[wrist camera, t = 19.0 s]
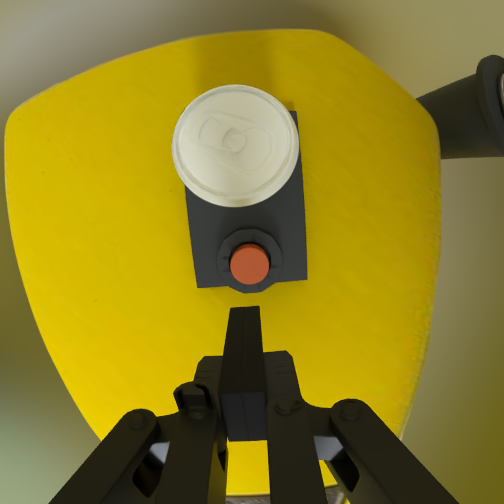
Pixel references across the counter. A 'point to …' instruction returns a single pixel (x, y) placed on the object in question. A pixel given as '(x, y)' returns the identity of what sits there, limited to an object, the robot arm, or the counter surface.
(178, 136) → the beverage can
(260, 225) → the warming base
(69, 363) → the counter surface
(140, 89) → the counter surface
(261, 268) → the button
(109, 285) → the counter surface
